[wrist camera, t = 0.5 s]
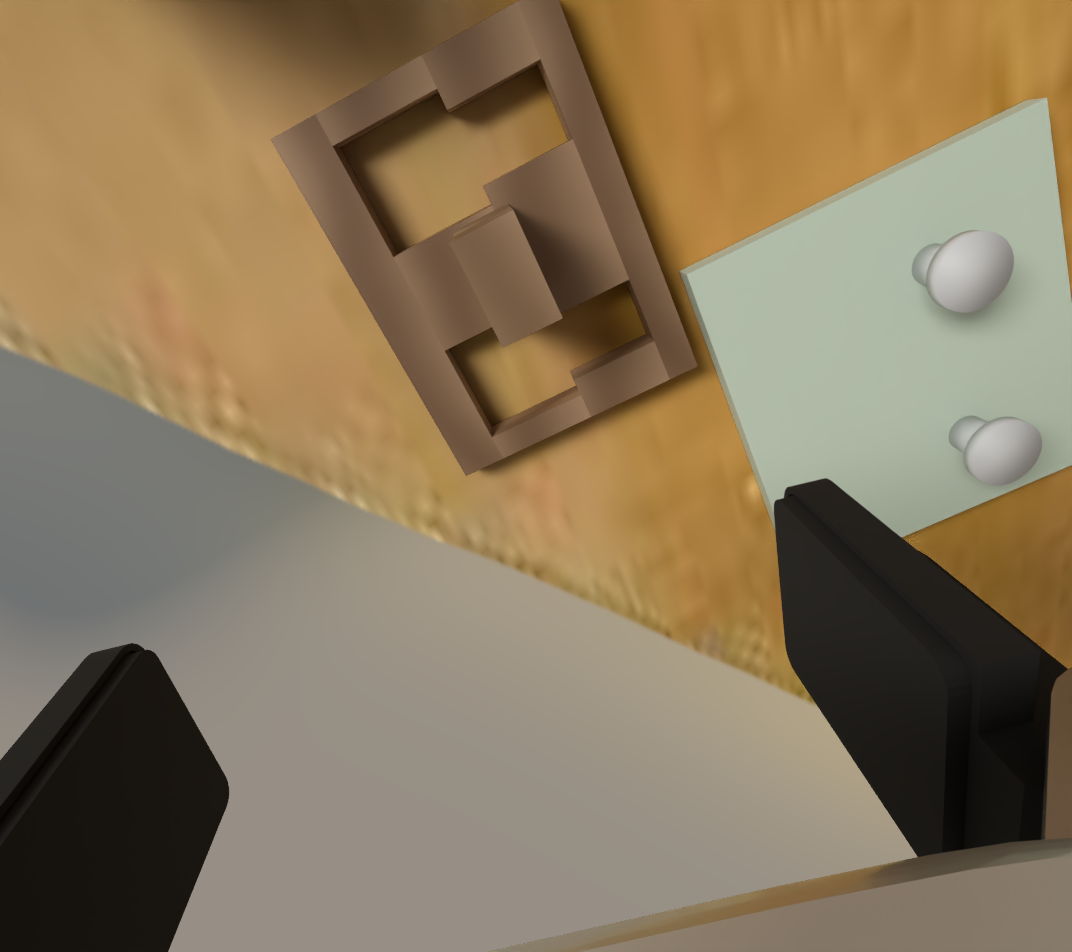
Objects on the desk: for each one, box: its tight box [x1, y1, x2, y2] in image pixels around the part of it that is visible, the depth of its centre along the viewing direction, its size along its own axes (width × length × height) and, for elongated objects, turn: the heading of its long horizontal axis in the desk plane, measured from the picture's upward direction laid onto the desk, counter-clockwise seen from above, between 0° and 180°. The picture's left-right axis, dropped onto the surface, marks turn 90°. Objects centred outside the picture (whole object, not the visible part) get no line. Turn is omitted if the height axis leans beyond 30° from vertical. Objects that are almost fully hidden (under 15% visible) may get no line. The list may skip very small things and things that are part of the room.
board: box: [679, 98, 1072, 538], centre depth 31 cm, size 16×18×4 cm
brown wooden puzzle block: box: [270, 0, 698, 476], centre depth 26 cm, size 12×16×7 cm
